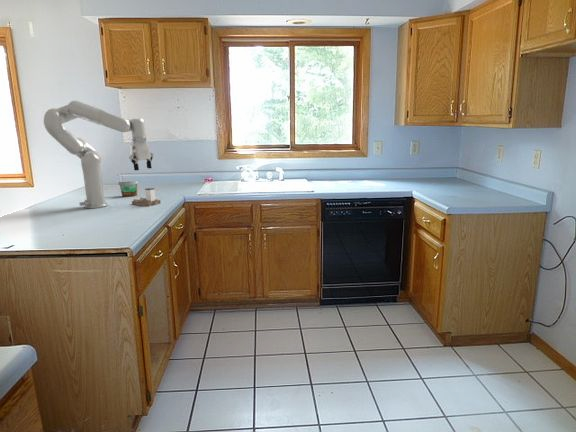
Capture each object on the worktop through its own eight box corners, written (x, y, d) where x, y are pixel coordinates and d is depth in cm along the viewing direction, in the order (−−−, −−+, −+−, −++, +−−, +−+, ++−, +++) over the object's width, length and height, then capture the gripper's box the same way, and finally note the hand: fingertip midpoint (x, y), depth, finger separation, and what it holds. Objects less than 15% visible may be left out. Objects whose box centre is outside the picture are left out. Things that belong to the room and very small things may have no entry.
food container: (118, 197, 272) (117, 182, 270) (119, 196, 278) (118, 181, 276) (138, 196, 275) (137, 181, 273) (139, 195, 281) (137, 180, 279)
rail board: (149, 206, 243) (149, 201, 243) (132, 204, 249) (131, 199, 249) (160, 203, 251) (160, 198, 250) (143, 201, 257) (143, 197, 257)
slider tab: (151, 201, 245) (150, 189, 244) (146, 200, 247) (145, 188, 246) (155, 200, 249) (154, 188, 247) (150, 199, 250) (149, 187, 249)
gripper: (132, 141, 236) (135, 171, 240) (155, 139, 251) (158, 167, 255) (123, 141, 240) (127, 171, 244) (146, 139, 254) (149, 167, 258)
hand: (143, 169), depth 249 cm, fingers open, 9 cm apart
